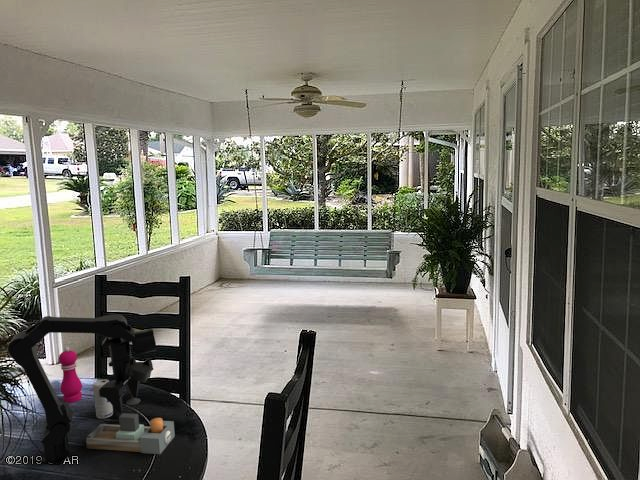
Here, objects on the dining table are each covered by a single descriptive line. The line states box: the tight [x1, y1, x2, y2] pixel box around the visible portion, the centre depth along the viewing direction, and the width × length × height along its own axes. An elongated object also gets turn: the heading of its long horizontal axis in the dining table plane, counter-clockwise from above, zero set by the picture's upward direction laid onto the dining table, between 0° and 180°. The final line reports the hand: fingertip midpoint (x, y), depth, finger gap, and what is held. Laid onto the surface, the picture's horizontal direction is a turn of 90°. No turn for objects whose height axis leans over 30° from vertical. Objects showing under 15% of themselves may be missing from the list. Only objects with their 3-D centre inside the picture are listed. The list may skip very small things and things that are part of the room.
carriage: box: [116, 412, 145, 441], centre depth 161 cm, size 6×6×7 cm
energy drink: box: [92, 378, 114, 420], centre depth 178 cm, size 5×5×12 cm
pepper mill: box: [58, 346, 83, 404], centre depth 190 cm, size 7×7×20 cm
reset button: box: [149, 417, 164, 434], centre depth 159 cm, size 4×4×4 cm
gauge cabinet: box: [140, 420, 176, 455], centre depth 160 cm, size 10×6×5 cm, turn 171°
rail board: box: [85, 423, 150, 453], centre depth 162 cm, size 9×18×4 cm, turn 81°
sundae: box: [124, 382, 141, 406], centre depth 187 cm, size 7×7×15 cm
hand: (127, 404), depth 160 cm, fingers open, 9 cm apart
